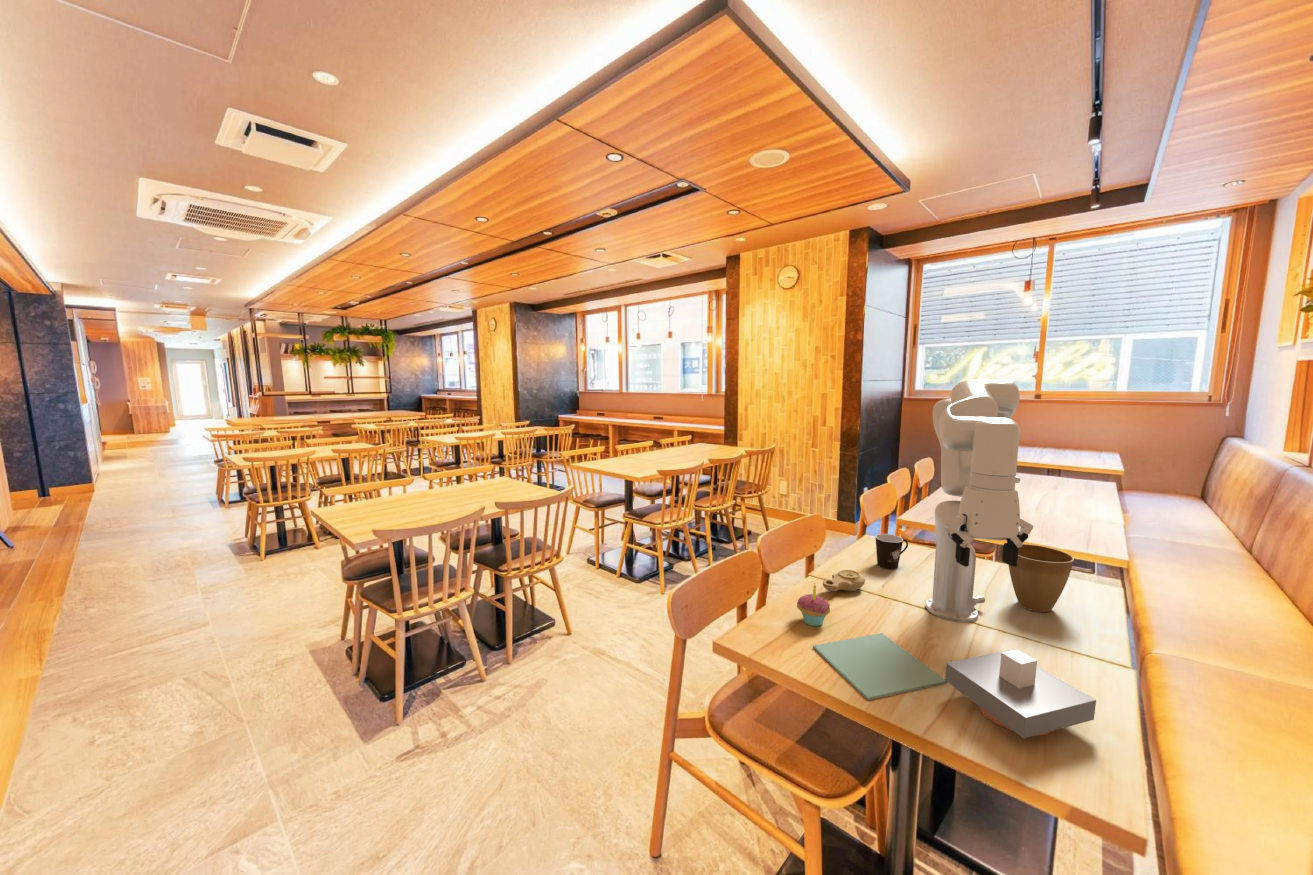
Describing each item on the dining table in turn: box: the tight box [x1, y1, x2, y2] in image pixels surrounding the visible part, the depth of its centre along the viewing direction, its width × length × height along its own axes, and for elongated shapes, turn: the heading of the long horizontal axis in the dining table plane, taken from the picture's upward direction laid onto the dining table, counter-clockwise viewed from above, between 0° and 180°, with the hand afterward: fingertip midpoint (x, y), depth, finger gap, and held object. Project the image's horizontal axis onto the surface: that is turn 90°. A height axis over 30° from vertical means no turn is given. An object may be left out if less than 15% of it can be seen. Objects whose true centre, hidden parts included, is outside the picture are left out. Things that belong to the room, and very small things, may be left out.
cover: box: [944, 649, 1097, 739], centre depth 96 cm, size 17×17×9 cm
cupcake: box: [796, 583, 831, 627], centre depth 131 cm, size 9×8×12 cm
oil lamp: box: [822, 569, 866, 592], centre depth 150 cm, size 11×14×5 cm
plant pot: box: [1007, 543, 1075, 613], centre depth 138 cm, size 15×15×16 cm
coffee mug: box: [874, 533, 909, 571], centre depth 167 cm, size 12×9×10 cm
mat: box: [812, 632, 948, 701], centre depth 113 cm, size 20×20×1 cm
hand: (985, 564), depth 100 cm, fingers open, 9 cm apart
